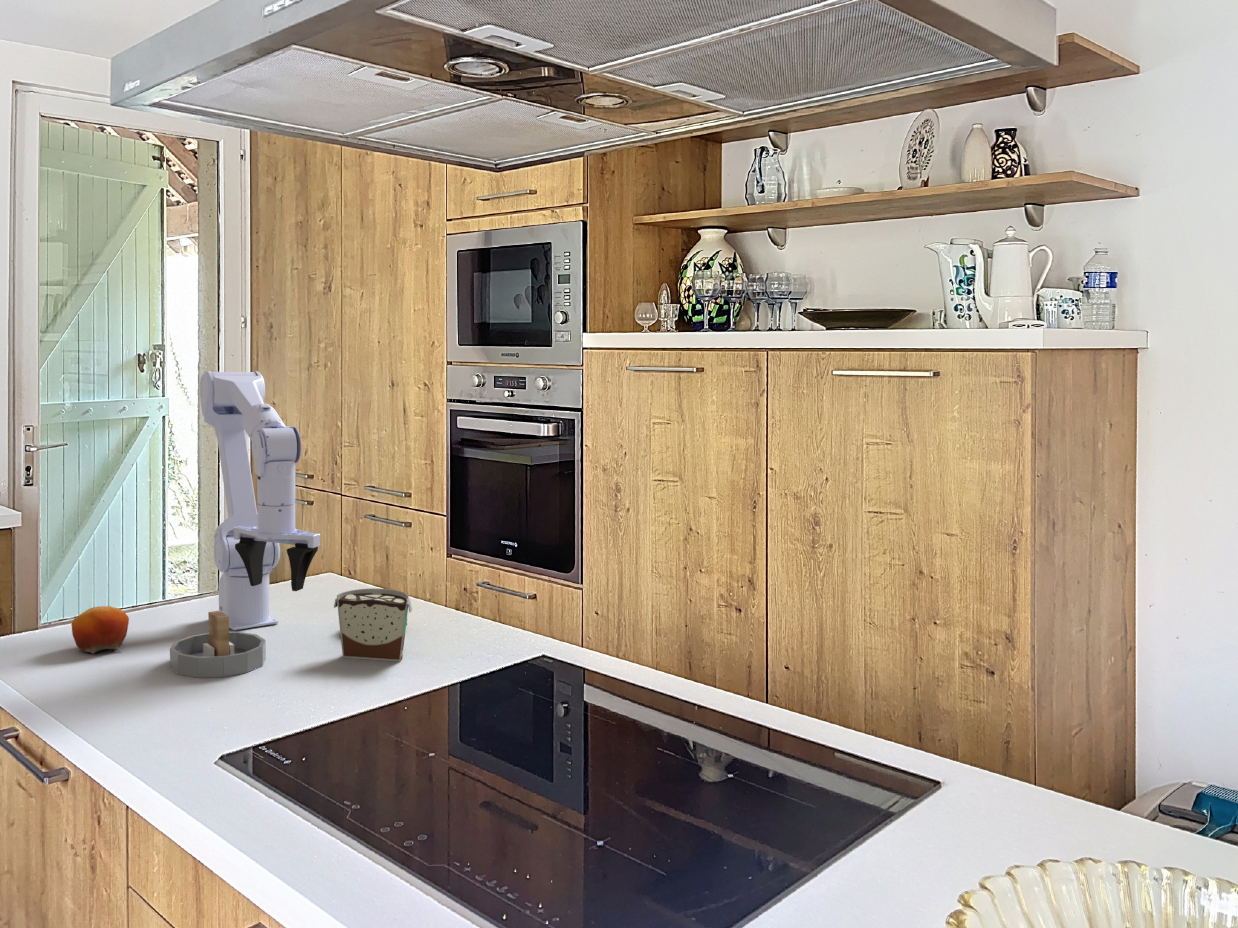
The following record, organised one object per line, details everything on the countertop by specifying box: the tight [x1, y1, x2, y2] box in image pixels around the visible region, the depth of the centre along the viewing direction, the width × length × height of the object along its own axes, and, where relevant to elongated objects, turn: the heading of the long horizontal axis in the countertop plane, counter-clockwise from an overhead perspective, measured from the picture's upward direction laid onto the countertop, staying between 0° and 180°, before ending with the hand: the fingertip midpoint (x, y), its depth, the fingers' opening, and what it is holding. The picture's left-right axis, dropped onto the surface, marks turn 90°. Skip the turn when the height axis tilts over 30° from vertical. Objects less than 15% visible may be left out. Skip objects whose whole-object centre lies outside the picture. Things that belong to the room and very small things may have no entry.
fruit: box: [70, 605, 130, 655], centre depth 164 cm, size 8×8×8 cm
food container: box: [333, 588, 413, 662], centre depth 167 cm, size 12×6×10 cm, turn 84°
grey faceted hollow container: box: [169, 631, 267, 679], centre depth 160 cm, size 13×13×3 cm
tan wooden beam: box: [207, 610, 230, 656], centre depth 160 cm, size 4×2×7 cm, turn 41°
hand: (276, 587), depth 168 cm, fingers open, 7 cm apart
